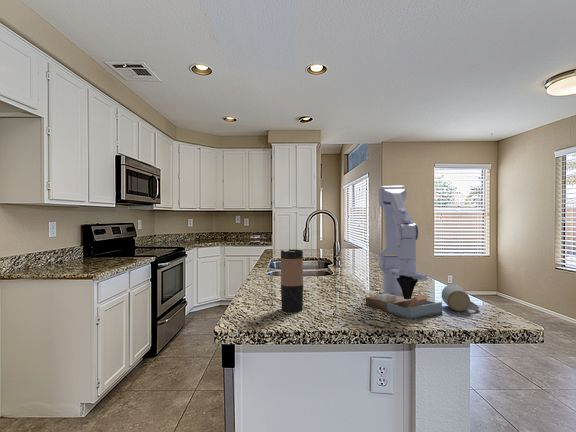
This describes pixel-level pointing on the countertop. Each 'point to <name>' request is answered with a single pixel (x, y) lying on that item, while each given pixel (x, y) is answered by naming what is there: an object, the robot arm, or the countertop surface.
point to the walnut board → (383, 305)
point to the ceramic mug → (457, 298)
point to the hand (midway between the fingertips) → (407, 298)
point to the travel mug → (292, 280)
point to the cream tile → (386, 297)
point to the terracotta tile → (417, 301)
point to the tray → (416, 310)
